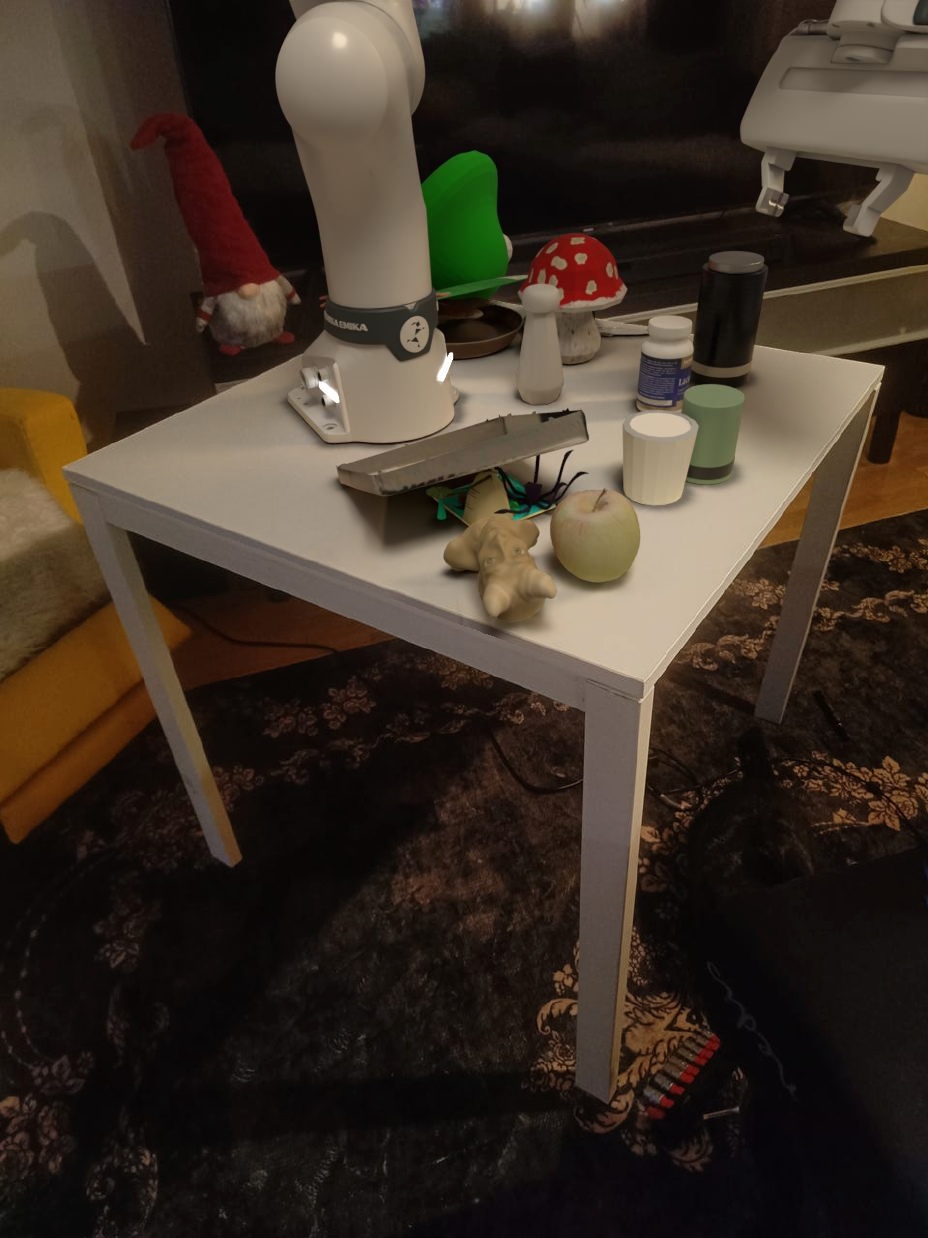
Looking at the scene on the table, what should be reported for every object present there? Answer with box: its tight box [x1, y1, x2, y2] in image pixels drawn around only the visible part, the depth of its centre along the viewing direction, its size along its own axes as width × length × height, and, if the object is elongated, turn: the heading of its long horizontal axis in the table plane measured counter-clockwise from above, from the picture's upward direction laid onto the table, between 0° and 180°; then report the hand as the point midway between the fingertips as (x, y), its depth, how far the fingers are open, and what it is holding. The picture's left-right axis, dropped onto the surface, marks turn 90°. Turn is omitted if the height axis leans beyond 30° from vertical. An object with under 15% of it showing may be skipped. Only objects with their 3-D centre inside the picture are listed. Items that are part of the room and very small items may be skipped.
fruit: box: [549, 487, 641, 583], centre depth 65 cm, size 8×7×8 cm
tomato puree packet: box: [436, 274, 528, 300], centre depth 109 cm, size 15×1×20 cm
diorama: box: [425, 449, 589, 527], centre depth 75 cm, size 11×15×6 cm
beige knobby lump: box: [442, 516, 558, 623], centre depth 63 cm, size 8×7×12 cm
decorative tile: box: [335, 407, 590, 497], centre depth 75 cm, size 20×3×20 cm
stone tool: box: [437, 297, 495, 323], centre depth 113 cm, size 14×3×15 cm
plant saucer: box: [436, 303, 524, 360], centre depth 113 cm, size 18×18×3 cm
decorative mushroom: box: [517, 233, 628, 365], centre depth 102 cm, size 14×14×15 cm
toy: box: [420, 150, 513, 299], centre depth 120 cm, size 26×24×15 cm
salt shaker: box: [515, 284, 565, 406], centre depth 93 cm, size 6×6×13 cm
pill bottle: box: [635, 314, 694, 413], centre depth 90 cm, size 6×6×10 cm
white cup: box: [622, 410, 699, 506], centre depth 76 cm, size 7×7×7 cm
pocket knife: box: [597, 326, 649, 338], centre depth 113 cm, size 14×1×2 cm
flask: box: [690, 250, 769, 389], centre depth 95 cm, size 7×7×14 cm
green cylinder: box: [681, 384, 746, 485], centre depth 78 cm, size 6×6×8 cm
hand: (808, 223), depth 64 cm, fingers open, 8 cm apart
